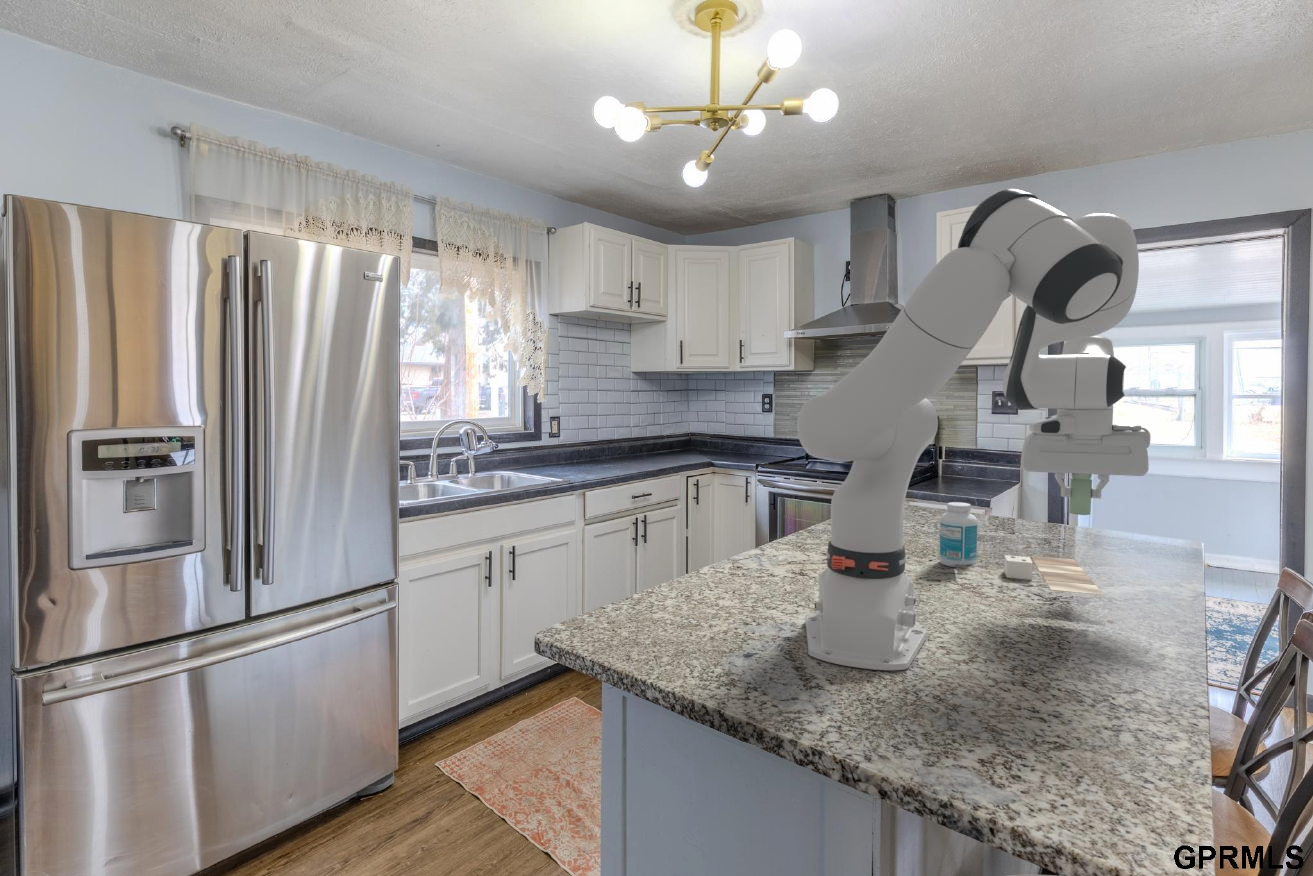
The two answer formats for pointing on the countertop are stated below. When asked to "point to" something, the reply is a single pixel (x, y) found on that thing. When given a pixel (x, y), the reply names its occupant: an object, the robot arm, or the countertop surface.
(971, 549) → the pill bottle
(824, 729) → the countertop surface
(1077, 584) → the board
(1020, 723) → the countertop surface
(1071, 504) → the green bottle
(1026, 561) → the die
